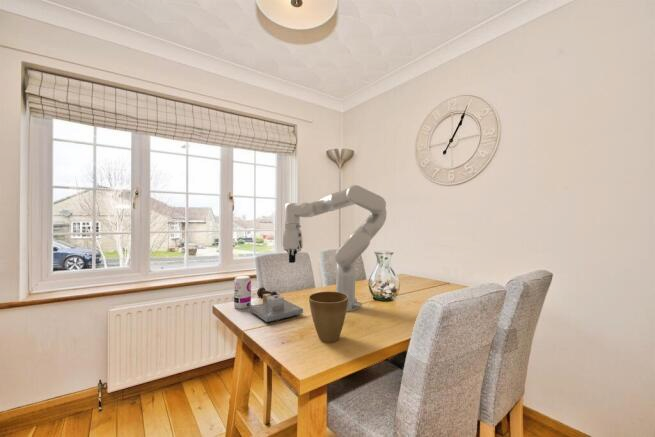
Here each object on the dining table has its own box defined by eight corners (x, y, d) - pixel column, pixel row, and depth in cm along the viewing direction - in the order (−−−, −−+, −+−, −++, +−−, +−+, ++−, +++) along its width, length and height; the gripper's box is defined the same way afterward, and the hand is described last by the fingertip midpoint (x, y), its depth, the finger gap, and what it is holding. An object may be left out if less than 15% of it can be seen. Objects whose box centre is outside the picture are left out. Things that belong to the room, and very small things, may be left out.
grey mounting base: (281, 304, 146) (281, 291, 146) (302, 315, 130) (302, 300, 130) (248, 311, 136) (248, 297, 135) (266, 324, 119) (266, 308, 119)
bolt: (277, 304, 152) (259, 298, 161) (283, 298, 156) (265, 292, 165) (274, 296, 150) (255, 291, 159) (280, 290, 153) (261, 285, 162)
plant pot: (333, 327, 117) (333, 289, 117) (355, 341, 104) (356, 298, 104) (301, 335, 109) (301, 294, 109) (321, 351, 96) (321, 304, 96)
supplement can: (253, 304, 147) (253, 275, 146) (247, 309, 138) (247, 279, 138) (238, 303, 147) (238, 275, 147) (231, 309, 139) (231, 278, 139)
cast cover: (277, 304, 136) (278, 294, 136) (284, 308, 131) (284, 297, 131) (266, 307, 132) (266, 296, 132) (272, 310, 127) (272, 299, 127)
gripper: (308, 227, 145) (308, 262, 145) (286, 226, 153) (285, 260, 153) (299, 227, 138) (299, 265, 139) (276, 226, 146) (276, 262, 147)
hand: (292, 262), depth 146 cm, fingers closed
